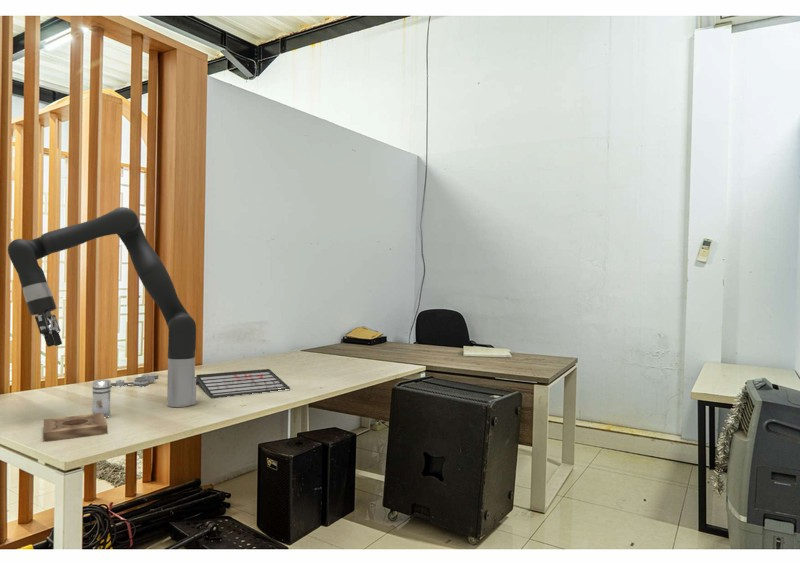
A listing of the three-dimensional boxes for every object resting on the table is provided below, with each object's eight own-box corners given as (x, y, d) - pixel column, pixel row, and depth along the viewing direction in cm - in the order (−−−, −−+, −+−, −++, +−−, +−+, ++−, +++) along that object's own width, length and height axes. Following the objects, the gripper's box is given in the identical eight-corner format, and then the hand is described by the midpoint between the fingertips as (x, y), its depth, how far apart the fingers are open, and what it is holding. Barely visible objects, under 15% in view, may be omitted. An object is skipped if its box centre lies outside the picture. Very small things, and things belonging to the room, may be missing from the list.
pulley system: (173, 383, 239) (151, 377, 246) (173, 372, 238) (151, 367, 246) (113, 397, 215) (91, 390, 223) (114, 385, 215) (91, 379, 222)
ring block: (102, 420, 176) (102, 412, 176) (107, 433, 162) (107, 425, 162) (43, 427, 167) (43, 419, 167) (43, 441, 154) (43, 432, 154)
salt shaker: (109, 414, 184) (109, 378, 183) (111, 417, 179) (111, 381, 179) (91, 416, 181) (91, 380, 180) (92, 419, 176) (93, 383, 176)
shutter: (288, 403, 226) (264, 380, 252) (290, 387, 226) (265, 365, 252) (209, 409, 209) (192, 383, 235) (211, 391, 208) (194, 367, 234)
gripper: (45, 294, 172) (62, 342, 173) (57, 296, 185) (73, 341, 186) (19, 301, 170) (35, 350, 170) (33, 303, 183) (48, 348, 183)
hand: (55, 345), depth 178 cm, fingers open, 8 cm apart
